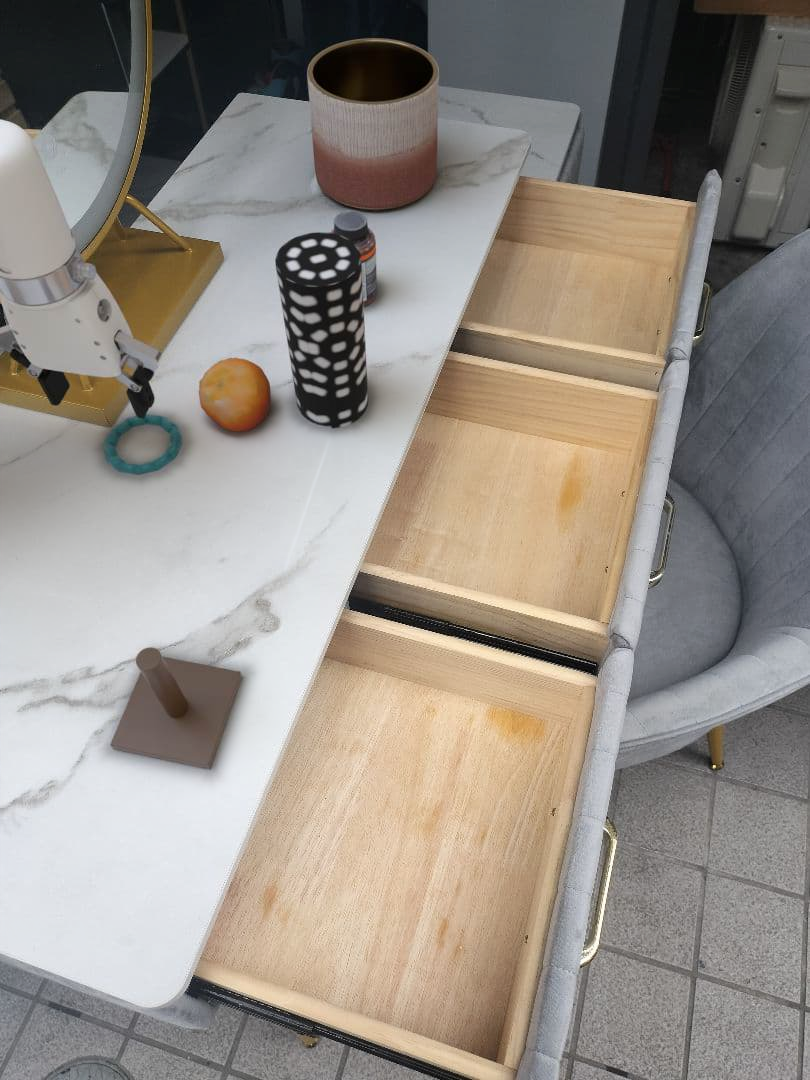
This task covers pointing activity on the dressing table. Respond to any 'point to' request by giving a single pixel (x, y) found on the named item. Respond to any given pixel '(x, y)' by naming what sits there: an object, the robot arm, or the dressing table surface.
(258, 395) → the fruit
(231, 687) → the jewel stand
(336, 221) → the supplement bottle
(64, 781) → the dressing table surface
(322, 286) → the spotted tube
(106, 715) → the dressing table surface
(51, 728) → the dressing table surface
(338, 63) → the planter
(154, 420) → the bangle
